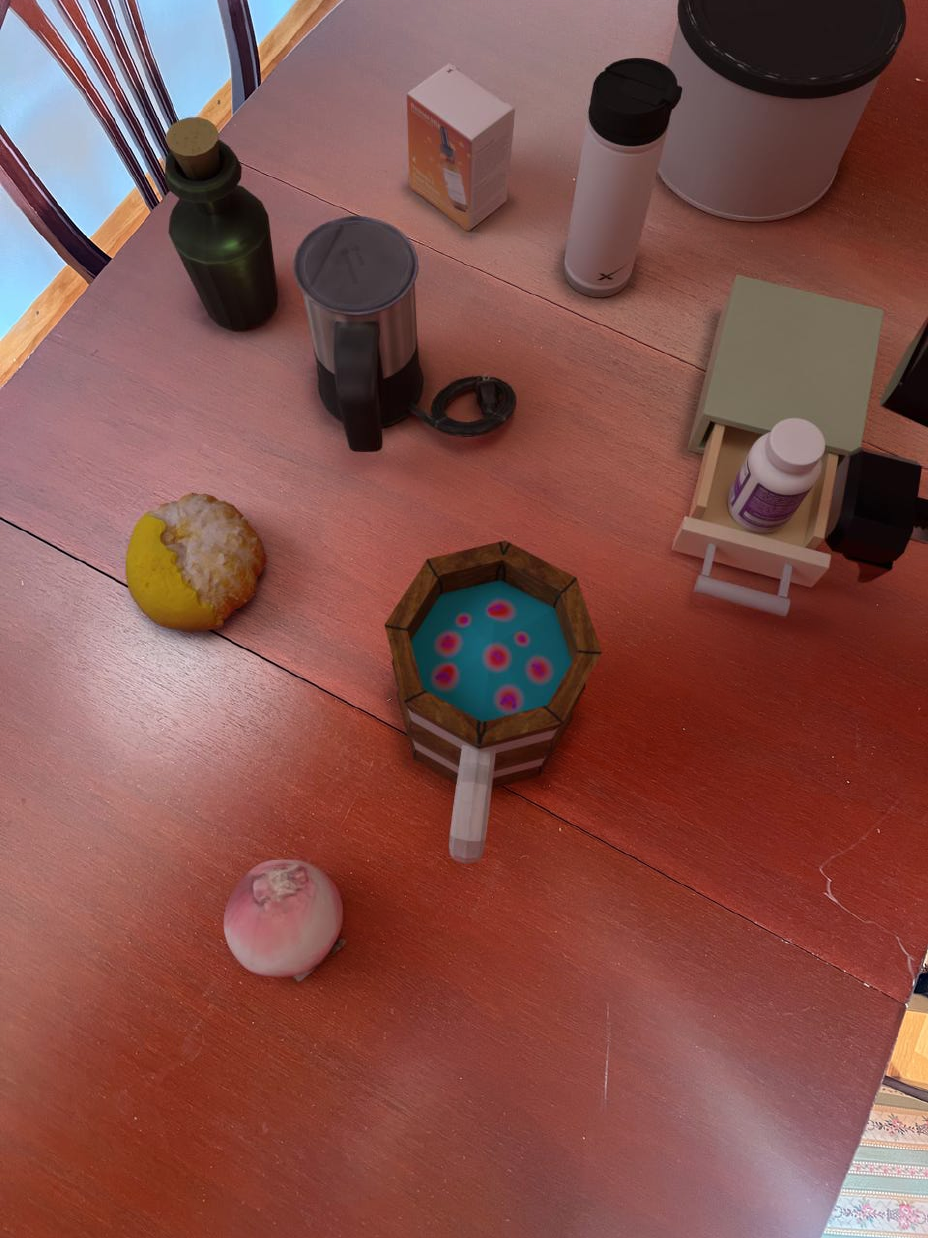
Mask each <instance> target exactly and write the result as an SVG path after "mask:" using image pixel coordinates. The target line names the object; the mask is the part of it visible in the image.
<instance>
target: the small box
mask: <svg viewBox="0 0 928 1238" xmlns="http://www.w3.org/2000/svg"><path fill="white" fill-rule="evenodd" d="M515 115H516V107H514V106H513V105H511V104H510V103H509V102H507V101H505V100H504V99H502V98H501V97H499V96H497V95H496V94H495V93H493V92H491V91H490V90H488V89H487V88H486V87H485V86H483V85H482V84H481V83H479V82H478V81H476V80H475V79H474V78H471V77H470V76H469V75H468V74H467V73H465V72H464V71H463V70H461V69H460V68H458V66H457V65H455V64H454V63H453V62H448V63H446V64H445V65H443V67H441V68H439V69H438V70H437V71H435V72H434V73H433V74H431V75H430V76H428V77H427V78H426V79H424V80H423V81H421V82H420V83H418V84H417V85H416V86H415V87H413V88H412V89H410V91H408V92H407V93H406V122H407V148H408V149H407V151H408V152H407V153H408V154H407V155H408V177H409V178H408V185H409V188H410V189H411V190H413V191H414V192H416V193H417V194H419V195H420V196H421V197H423V198H424V199H425V200H426V201H428V202H429V203H431V204H432V205H433V206H434V207H436V208H437V209H438V210H439V211H440V212H442V213H443V214H445V215H446V216H447V217H449V218H450V219H451V220H452V221H454V222H455V223H456V224H457V225H458V226H460V227H461V228H462V229H463V230H465V231H466V232H470V231H471V230H473V229H474V228H475V227H476V226H478V225H479V224H480V223H481V222H482V221H484V220H485V219H486V218H488V216H490V215H492V214H493V212H495V211H496V210H497V209H499V208H500V207H501V206H502V205H504V204H505V203H507V201H508V195H509V184H510V173H511V172H510V171H511V170H510V169H511V160H512V149H513V139H514V127H515V125H514V124H515Z"/></svg>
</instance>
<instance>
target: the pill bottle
mask: <svg viewBox="0 0 928 1238" xmlns="http://www.w3.org/2000/svg"><path fill="white" fill-rule="evenodd" d="M824 451H825V439H824V436H823V434H822V432H821V431H820V430H819V428H818V427H816V426H815V425H814V424H813V423H811V422H809V421H807V420H804V419H799V418H789V419H785V420H782V421H780V422H779V423H777V424H776V425H775V426H774V428H773V429H772V431H771V432H769V433H767V434H765V435H763V436H762V437H760V438H759V439H758V440H757V441H756V442H755V443H754V445H753V446H752V448H751V450H750V452H749V454H748V456H747V458H746V460H745V461H744V463H743V465H742V467H741V469H740V471H739V473H738V475H737V477H736V478H735V480H734V482H733V484H732V486H731V488H730V490H729V493H728V498H727V500H728V508H729V512H730V514H731V515H732V517H733V518H734V520H735V521H736V522H737V523H738V524H739V525H741V526H742V527H744V528H745V529H747V530H750V531H753V532H757V533H770V532H774V531H776V530H779V529H781V528H782V527H783V526H785V525H786V524H787V523H788V521H789V520H790V519H791V517H792V516H793V515H794V513H795V512H796V510H797V509H798V507H799V506H800V504H801V503H802V502H803V500H804V499H805V497H806V496H807V494H808V493H809V491H810V490H811V489H812V487H813V486H814V484H815V483H816V481H817V480H818V477H819V475H820V472H821V457H822V455H823V453H824Z"/></svg>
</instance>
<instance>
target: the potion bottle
mask: <svg viewBox="0 0 928 1238" xmlns="http://www.w3.org/2000/svg"><path fill="white" fill-rule="evenodd" d="M165 134H166V135H165V143H166V144H167V146H168V149H169V150H170V151H169V152H168V154H167V156H166V157H165V163H164V164H165V165H164V181H165V184H166V187H167V188H168V191H169V192H170V193H172V194H173V195H174V196H175V197H177V198H178V200H177V202H176V203H175V205H174V207H173V208H172V210H171V212H170V216H169V223H168V235H169V237H170V240H171V242H172V244H173V246H174V248H175V251H176V253H177V254H178V257H179V259H180V260H181V262H182V265H183V267H184V268H185V270H186V272H187V275H188V277H189V279H190V280H191V282H192V285H193V287H194V289H195V290H196V293H197V295H198V296H199V299H200V301H201V302H202V305H203V306H204V308H205V310H206V313H207V314H208V317H209V319H211V320H212V321H213V322H214V323H216V324H217V325H218V326H221V327H223V328H226V329H229V330H233V331H236V330H237V331H238V330H239V331H240V330H250V329H253V328H256V327H258V326H261V325H262V324H264V323H265V322H266V321H267V320H268V319H270V318H271V317H272V316H273V314H274V312H275V310H276V309H277V307H278V299H279V292H278V284H277V276H276V275H277V274H276V267H275V266H276V265H275V259H274V252H273V251H274V250H273V244H272V235H271V225H270V217H269V214H268V212H267V210H266V208H265V206H264V204H263V202H262V201H261V200H260V199H259V198H258V197H257V196H256V195H254V194H253V193H252V192H251V191H249V190H248V189H247V188H245V187H244V186H242V185H239V183H240V181H241V180H242V171H243V167H242V165H241V162H240V161H239V158H238V156H237V155H236V153H235V152H234V150H233V149H232V148H231V146H229V145H228V144H226V143H225V142H224V141H222V140H221V139H219V130H218V128H217V127H216V125H215V124H214V123H213V122H212V121H210V119H207V118H203V117H200V116H190V117H189V116H188V117H185V118H182V119H179V120H177V121H176V122H174V123H173V124H172V125H170V127H169V128H168V130H167V132H166V133H165Z"/></svg>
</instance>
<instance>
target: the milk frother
mask: <svg viewBox="0 0 928 1238" xmlns="http://www.w3.org/2000/svg"><path fill="white" fill-rule="evenodd" d="M293 259H294V260H293V263H292V265H293V266H292V269H293V276H294V279H295V283H296V285H297V286H298V288H299V289H300V291H301V293H302V297H303V302H304V308H305V313H306V318H307V323H308V328H309V333H310V338H311V342H312V346H313V347H312V348H313V351H314V352H313V353H314V357H315V361H316V371H317V378H318V381H317V390H318V395H319V397H320V400H321V402H322V405H323V406H324V407H325V409H326V410H327V412H329V414H330V415H332V416H333V417H334V418H335V419H337V420H338V421H340V422H342V425H343V428H344V432H345V436H346V440H347V445H348V448H349V449H350V451H352V452H354V453H355V452H356V453H377V452H380V451H381V450H382V448H383V442H384V441H383V440H384V439H383V428H384V427H388V426H391V425H394V424H396V423H398V422H400V421H402V420H403V419H405V418H406V417H407V416H409V415H410V414H411V413H412V414H413V415H414V416H415V417H417V418H419V420H421V421H422V422H424V423H426V424H427V425H428V426H430V427H431V428H433V429H435V430H437V431H438V432H441V433H443V434H445V435H448V436H450V437H458V438H476V437H480V436H485V435H487V434H489V433H493V432H494V431H496V430H497V429H498V428H500V427H502V426H503V425H504V424H505V423H507V422H508V421H509V419H510V418H511V417H512V416H513V414H514V412H515V410H516V407H517V395H516V391H515V390H514V388H513V387H512V386H511V385H510V384H509V383H508V382H506V381H505V380H502V379H500V378H499V377H495V376H492V377H491V376H490V374H489V373H483V376H482V375H471V376H466V377H460V378H457V379H456V380H453V381H452V382H451V381H450V383H449V384H448V385H446V386H445V387H444V388H442V389H441V390H439V392H438V393H437V394H436V395H435V396H434V398H433V400H432V403H431V406H430V414H431V415H430V414H429V413H427V412H426V411H425V410H424V409H422V408H420V406H418V404H419V402H420V401H421V399H422V396H423V392H424V388H425V387H424V386H425V378H424V372H423V370H422V367H421V365H420V355H419V345H418V344H419V343H418V325H417V323H418V322H417V301H416V280H417V276H418V273H419V267H420V266H419V259H418V254H417V252H416V249H415V246H414V245H413V243H412V241H411V240H410V238H409V237H408V236H407V235H406V234H404V232H402V231H401V230H400V229H399V228H398V227H395V226H394V225H392V224H390V223H388V222H386V221H383V220H381V219H379V218H378V219H377V218H373V217H368V216H364V215H349V216H344V217H339V218H336V219H333V220H329V221H326V222H325V223H323V224H321V225H319V226H318V227H316V228H314V229H313V230H311V231H310V232H308V234H307V235H306V236H305V237H304V238H303V239H302V241H301V242H300V244H299V245H298V246H297V249H296V251H295V254H294V258H293ZM472 389H475V392H476V393H475V394H476V401H477V404H478V406H479V407H480V408H481V414H482V415H483V417H481V418H479V419H477V420H473V421H460V420H456V419H454V418H451V417H449V416H448V415H447V414H446V408H447V406H448V404H449V403H450V402H451V401H452V400H453V399H454V398H455V397H456V396H458V395H459V394H462V393H463V392H466V391H469V390H472ZM500 397H501V398H500Z"/></svg>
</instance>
